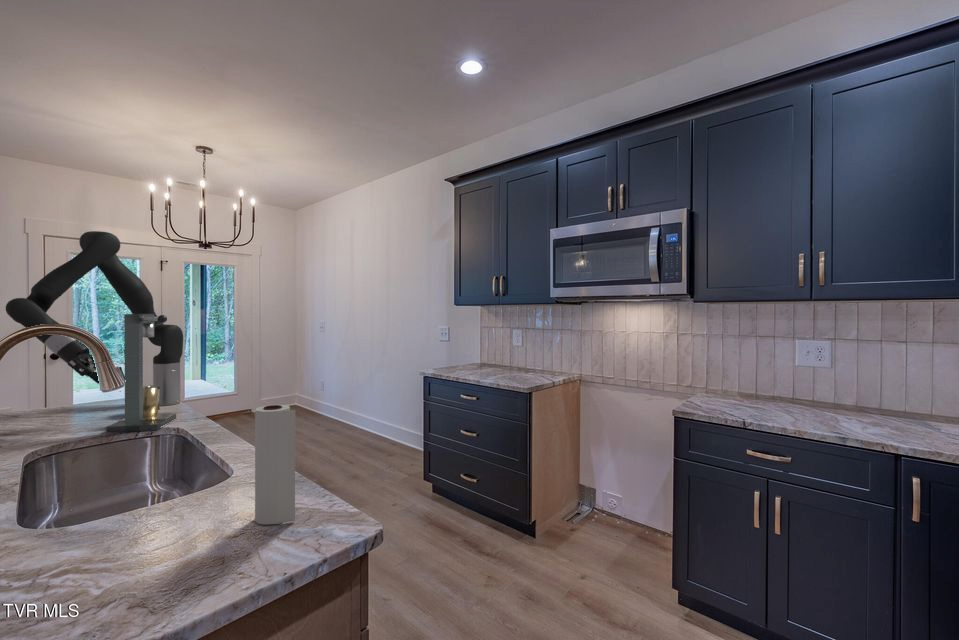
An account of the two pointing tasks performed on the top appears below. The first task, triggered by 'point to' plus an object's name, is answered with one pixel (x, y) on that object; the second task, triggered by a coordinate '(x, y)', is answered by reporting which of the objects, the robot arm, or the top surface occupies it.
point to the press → (137, 376)
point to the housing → (150, 402)
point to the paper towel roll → (274, 464)
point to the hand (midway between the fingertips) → (109, 379)
